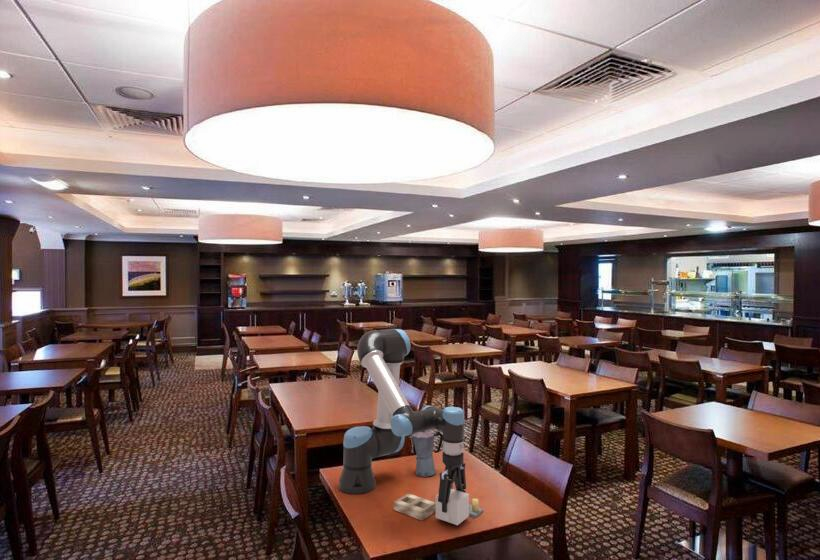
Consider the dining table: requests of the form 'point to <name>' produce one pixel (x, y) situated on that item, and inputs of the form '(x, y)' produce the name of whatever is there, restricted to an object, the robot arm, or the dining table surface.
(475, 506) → the board
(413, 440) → the moka pot
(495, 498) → the dining table surface
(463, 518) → the white cube block
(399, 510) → the socket board
